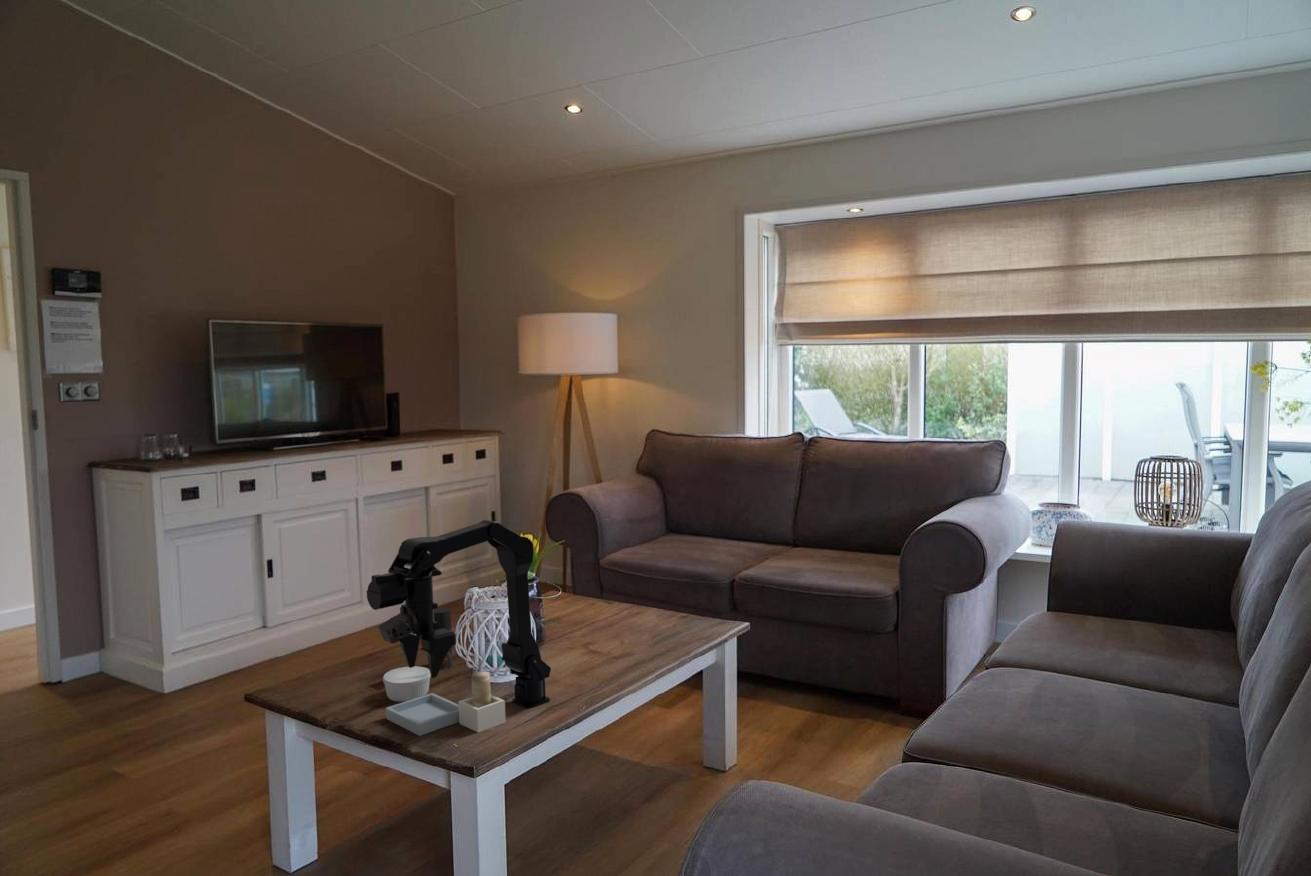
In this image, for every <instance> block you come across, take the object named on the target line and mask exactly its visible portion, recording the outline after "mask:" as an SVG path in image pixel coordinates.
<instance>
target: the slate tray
mask: <svg viewBox="0 0 1311 876" xmlns="http://www.w3.org/2000/svg"><path fill="white" fill-rule="evenodd" d="M385 719H386V720H388V721H390V722H391V723H394V724H395V725H398V726H399V727H401V728H403V729H406V730H407V731H409V730H410V731H409V732H411V733H413V734H415V735H416V736H419V737H421V736H424V735H426V734H428V733H432V732H434V731H438V730H440V729H443V728H445V727H448V726H451V725H455V724H458V723H459V704H457V703H456V702H453V701H451V700H449V699H446V698H445V697H443V696H440V695H438V694H435V693H434V692H431V693H427V694H426V695H425V696H422V697H419V698H415V699H412V700H409V701H406V702H399V703H397V704H394V705H391V706H387V707H385ZM437 729H438V730H437Z"/></svg>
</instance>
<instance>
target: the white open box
mask: <svg viewBox="0 0 1311 876" xmlns="http://www.w3.org/2000/svg"><path fill="white" fill-rule="evenodd" d="M458 705H459V722H458V723H459V725H461V726H463V727H466V728H468V729H469V730H472V731H474V732H476V733H481V732H484V731H487V730H489V729H492V728H495V727H497V726H499V725H500V726H501V725H503V724H505V723H507V721H506V700H505V699H502V698H500V697H497V696H494V695H493V694H491V704H488V705H486V706H483V707H480V708H477V707H475V706H473V705H472V696H471V697H469V698H466V699H465V698H464V699H462V700H459V701H458Z"/></svg>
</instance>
